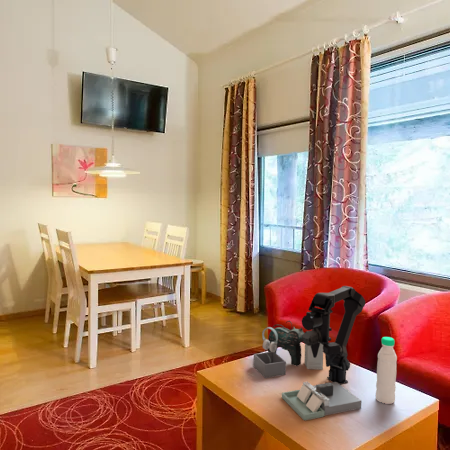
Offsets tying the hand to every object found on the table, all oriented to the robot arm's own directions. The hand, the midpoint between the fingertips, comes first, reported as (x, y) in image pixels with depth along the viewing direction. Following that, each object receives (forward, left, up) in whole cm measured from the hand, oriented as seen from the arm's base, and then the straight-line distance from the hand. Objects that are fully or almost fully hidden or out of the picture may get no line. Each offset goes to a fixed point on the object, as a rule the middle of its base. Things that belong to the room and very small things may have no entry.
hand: (321, 361), depth 165 cm
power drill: (0, -31, -12) cm, 33 cm away
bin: (+14, +9, -12) cm, 20 cm away
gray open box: (+12, -23, -12) cm, 29 cm away
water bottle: (-20, +15, -12) cm, 28 cm away
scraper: (+5, +9, -9) cm, 14 cm away
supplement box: (-10, -21, -12) cm, 26 cm away
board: (+1, +9, -12) cm, 15 cm away
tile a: (+10, +5, -10) cm, 15 cm away
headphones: (+12, -23, -12) cm, 29 cm away
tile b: (+10, +13, -10) cm, 19 cm away
